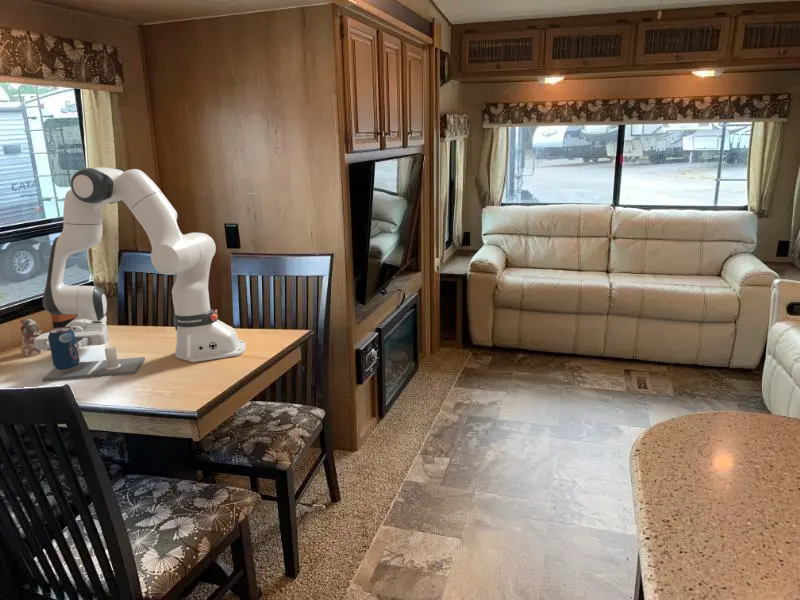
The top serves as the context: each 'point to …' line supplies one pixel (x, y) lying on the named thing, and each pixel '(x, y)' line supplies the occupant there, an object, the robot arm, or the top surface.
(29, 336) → the figurine
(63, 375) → the board
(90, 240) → the robot arm
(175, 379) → the top surface
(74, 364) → the soda can
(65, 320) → the battery
